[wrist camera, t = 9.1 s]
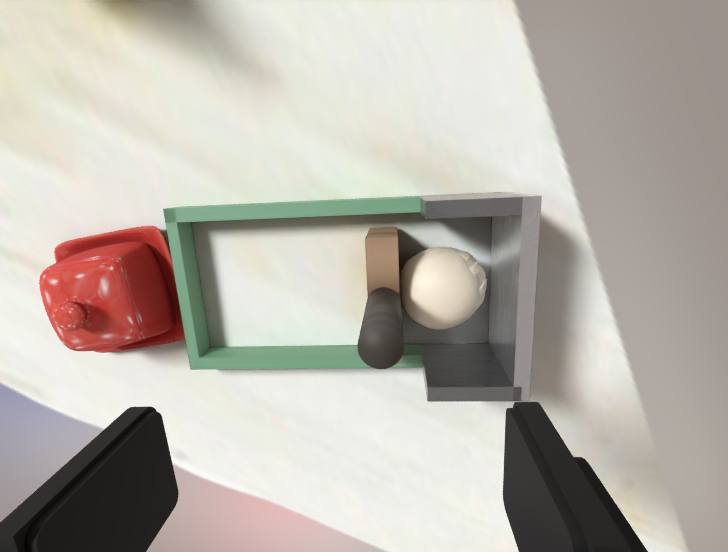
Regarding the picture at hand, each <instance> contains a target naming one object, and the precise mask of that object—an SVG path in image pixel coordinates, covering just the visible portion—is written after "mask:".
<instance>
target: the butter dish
mask: <svg viewBox="0 0 728 552" xmlns="http://www.w3.org/2000/svg"><path fill="white" fill-rule="evenodd" d="M55 260H56V263H55V264H54V265H52V266H50V267H48V268H47V269H45V270H44V271H43V272H42V274H41V276H40V282H39V284H40V291H41V296H42V299H43V303H44V306H45V309H46V312H47V315H48V317H49V319H50V322H51V324H52V326H53V328H54V330H55V332H56V333H57V335H58V337H59V338H60V340H61V341H62V342H63V344H64V345H65V346H67V347H68V348H69V349H71V350H74V351H95V352H100V353H104V352H116V351H123V350H129V349H136V348H142V347H148V346H155V345H160V344H166V343H171V342H175V341H179V340H183V339H185V334H184V328H183V322H182V316H181V310H180V304H179V299H178V293H177V287H176V281H175V275H174V269H173V263H172V257H171V254H170V251H169V248H168V246H167V243H166V240H165V238H164V236H163V234H162V233H161V231H160V230H159V229H158V228H157V227H154V226H142V227H136V228H130V229H125V230H119V231H114V232H109V233H103V234H99V235H94V236H89V237H84V238H79V239H74V240H70V241H66V242H63V243H61V244H59V245H58V246H57V247H56V248H55Z"/></svg>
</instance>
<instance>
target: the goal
mask: <svg viewBox="0 0 728 552" xmlns="http://www.w3.org/2000/svg"><path fill="white" fill-rule="evenodd" d="M419 197H420V212H421V214H422V215H423V216H424V217H425V219H436V218H461V217H485V216H492V244H491V276H490V309H489V342H488V343H467V344H421V351H422V368H423V374H424V381H425V387H426V394H427V400H428V401H529V398H530V381H531V364H532V348H533V331H534V314H535V298H536V281H537V264H538V247H539V231H540V214H541V197H542V196H538V195H529V194H521V193H513V192H494V193H472V194H450V195H429V196H419Z"/></svg>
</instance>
